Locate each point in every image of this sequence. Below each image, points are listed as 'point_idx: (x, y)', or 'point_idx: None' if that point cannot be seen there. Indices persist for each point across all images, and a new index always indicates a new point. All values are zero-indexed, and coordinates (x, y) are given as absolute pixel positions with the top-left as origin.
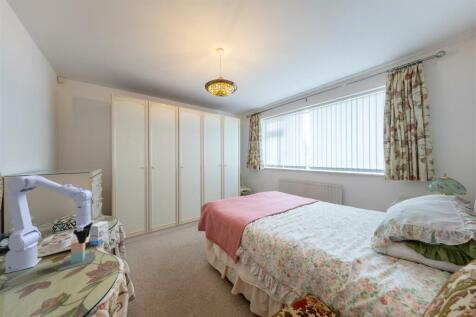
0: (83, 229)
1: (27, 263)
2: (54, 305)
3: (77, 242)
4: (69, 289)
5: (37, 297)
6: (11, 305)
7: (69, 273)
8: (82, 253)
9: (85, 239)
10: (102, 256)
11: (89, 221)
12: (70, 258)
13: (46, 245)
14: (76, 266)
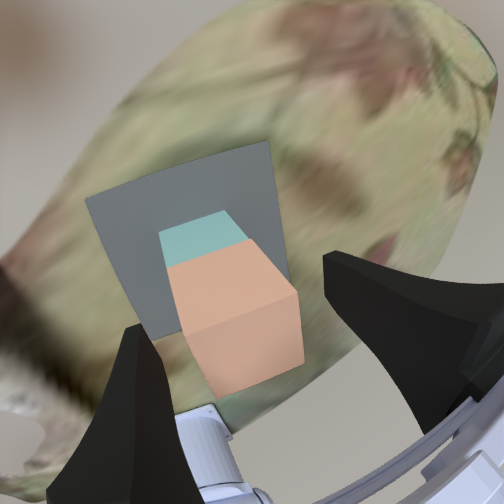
0: (494, 356)
1: (216, 429)
2: (470, 157)
3: (300, 329)
4: (437, 146)
5: (427, 230)
6: (422, 275)
7: (337, 209)
8: (243, 234)
9: (362, 261)
10: (186, 93)
11: (489, 499)
12: (162, 314)
13: (40, 460)
14: (278, 213)
